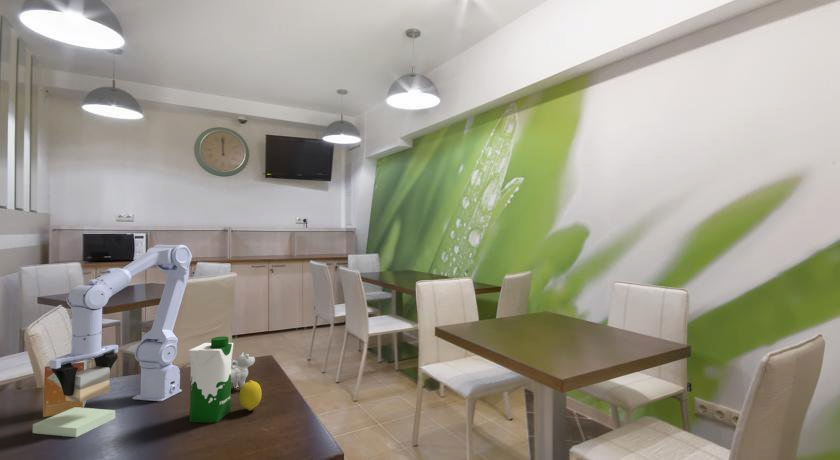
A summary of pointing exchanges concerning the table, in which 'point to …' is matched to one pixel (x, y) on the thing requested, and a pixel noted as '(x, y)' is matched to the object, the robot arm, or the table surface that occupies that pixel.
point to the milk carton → (210, 380)
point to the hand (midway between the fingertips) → (85, 389)
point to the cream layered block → (90, 384)
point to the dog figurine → (240, 369)
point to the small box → (58, 392)
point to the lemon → (250, 395)
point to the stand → (74, 422)
